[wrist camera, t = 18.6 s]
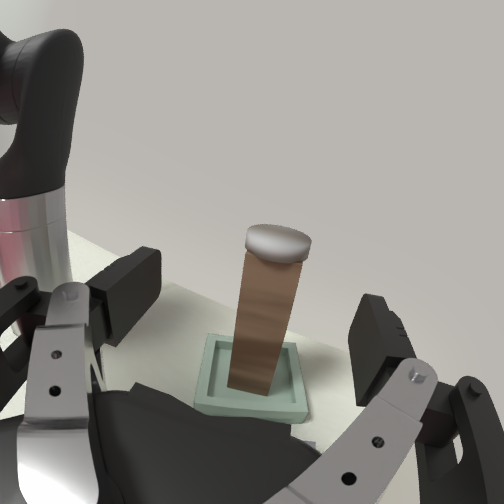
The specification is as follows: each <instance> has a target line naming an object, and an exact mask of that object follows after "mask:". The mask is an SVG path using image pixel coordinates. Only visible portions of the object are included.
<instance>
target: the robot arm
mask: <svg viewBox="0 0 504 504" xmlns="http://www.w3.org/2000/svg"><path fill="white" fill-rule="evenodd" d="M83 65H84V54H83V47H82V43H81V41H80V38H79V37H78V36H77V34H76V33H74V32H73V31H71V30H68V29H57V30H53V31H49V32H46V33H42V34H39V35H36V36H33V37H30V38H27V39H24V40H21V41H19V42H15V41H12V40H10V39H9V38H7V37H6V36H5V35H4V34H3V33H2V32H1V31H0V124H3V125H12V124H17V128H16V133H15V138H14V140H13V143H12V144H11V146H10V148H9V149H8V151H7V152H6V153H5V154H4V155H3V156H2V157H1V158H0V337H1V334H2V333H3V332H4V331H5V330H6V329H7V328H8V327H9V326H10V325H11V328H12V331H13V333H14V334H16V335H18V338H17V339H16V340H15V341H14V342H13V343H12V344H11V345H10V346H9V347H8V348H7V349H6V350H5V351H4V352H3V351H2V349H1V347H0V412H1V411H2V410H3V408H4V407H5V406H6V404H7V403H8V402H9V401H10V399H11V398H12V397H13V396H14V394H15V393H16V392H17V391H18V389H19V388H20V387H21V386H22V385H23V383H24V382H25V381H26V380H27V385H26V397H25V413H24V414H22V415H18V416H15V417H10V418H6V419H2V420H0V504H374V503H375V502H376V500H377V499H378V498H379V496H380V495H381V494H382V492H383V491H384V489H385V488H386V487H387V485H388V484H389V482H390V481H391V479H392V478H393V476H394V475H395V473H396V472H397V470H398V468H399V467H400V465H401V464H402V462H403V460H404V459H405V457H406V455H407V454H408V452H409V450H410V449H411V447H412V445H413V443H414V442H415V448H416V457H417V466H418V476H419V491H420V504H504V431H503V428H502V426H501V423H500V420H499V418H498V415H497V412H496V410H495V407H494V404H493V402H492V400H491V397H490V395H489V393H488V391H487V389H486V387H485V385H484V384H483V383H482V382H480V381H479V380H478V379H476V378H474V377H471V376H464V377H462V378H461V379H460V380H459V381H458V383H457V384H456V385H455V386H451V385H448V384H445V383H442V382H439V381H438V378H437V374H436V372H435V371H434V369H433V368H432V367H431V366H430V365H429V364H428V363H426V362H424V361H422V360H420V359H417V357H416V355H415V352H414V350H413V347H412V345H411V342H410V340H409V338H408V337H407V333H406V331H405V330H404V326H403V324H402V321H401V319H400V318H399V317H398V316H397V315H396V314H395V313H394V312H393V311H389V309H388V306H387V304H386V302H385V299H384V297H382V296H376V295H371V294H364V295H363V297H362V298H361V301H360V304H359V306H358V309H357V312H356V314H355V317H354V319H353V322H352V324H351V327H350V330H349V335H348V344H349V351H350V358H351V365H352V372H353V380H354V388H355V397H356V406H362V407H366V408H365V409H364V410H363V411H362V412H361V414H360V415H359V416H358V417H357V418H356V419H355V421H354V422H353V423H352V424H351V425H350V426H349V427H348V428H347V430H346V431H345V432H344V433H343V434H342V435H341V436H340V437H339V438H338V439H337V440H336V441H335V442H334V443H333V444H332V445H331V446H330V447H329V448H328V449H327V450H326V451H325V452H324V453H323V454H320V453H319V452H318V451H317V450H316V449H314V448H313V447H312V446H310V445H308V444H307V443H305V442H303V441H301V440H299V439H297V438H295V437H293V436H290V433H291V424H285V423H279V422H274V421H268V420H263V419H258V418H253V417H225V416H210V415H205V414H203V413H201V412H199V411H197V410H196V409H194V408H192V407H190V406H188V405H187V404H185V403H183V402H181V401H180V400H178V399H176V398H175V397H173V396H171V395H169V394H166V393H163V392H160V391H158V390H155V389H152V388H150V387H147V386H144V385H142V384H139V383H137V382H135V384H134V386H133V387H132V389H131V390H130V392H129V391H119V390H111V391H107V389H106V382H105V374H104V366H103V356H102V350H101V346H102V345H103V343H106V344H109V345H111V346H114V347H116V346H117V345H118V344H119V343H120V342H121V340H122V339H123V338H124V337H125V336H126V334H127V333H128V332H129V331H130V330H131V329H132V327H133V326H134V325H135V324H136V323H137V322H138V320H139V319H140V318H141V317H142V316H143V315H144V313H145V312H146V311H147V310H148V309H149V308H150V307H151V305H152V304H153V303H154V302H155V301H156V300H157V298H158V297H159V294H160V291H161V252H160V251H159V250H157V249H153V248H148V247H143V246H142V247H140V248H139V249H137V250H136V251H135V252H133V253H132V254H130V255H127V256H124V257H122V258H119V259H117V260H116V261H114V262H113V263H111V264H110V266H107V267H106V268H105V269H104V270H102V271H100V272H99V273H98V274H96V275H95V276H94V277H92V278H91V279H90V280H88V281H87V282H86V283H84V284H83V283H80V282H73V279H72V272H71V265H70V257H69V248H68V238H67V225H66V209H65V170H66V166H67V162H68V158H69V154H70V148H71V140H72V131H73V124H74V117H75V111H76V106H77V101H78V96H79V91H80V86H81V81H82V74H83ZM458 434H459V435H460V439H461V443H462V447H463V456H462V459H461V461H460V462H459V464H458V463H457V458H456V453H455V448H454V443H453V439H455V437H457V435H458Z"/></svg>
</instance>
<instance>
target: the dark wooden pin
mask: <svg viewBox="0 0 504 504" xmlns="http://www.w3.org/2000/svg"><path fill="white" fill-rule="evenodd" d="M310 245H311V239H310V237H309V236H307V235H306V234H304V233H302V232H300V231H297V230H295V229H291V228H288V227H283V226H277V225H267V224H260V225H254V226H251V227H249V228H248V230H247V236H246V243H245V248H246V249H247V252H246V254H245V260H244V267H243V275H242V281H241V289H240V296H239V302H238V309H237V317H236V324H235V331H234V338H233V345H232V353H231V360H230V367H229V375H228V382H227V387H228V388H231V389H235V390H240V391H244V392H248V393H252V394H257V395H262V396H266V397H268V393H269V390H270V387H271V383H272V380H273V376H274V373H275V369H276V366H277V362H278V359H279V355H280V352H281V348H282V344H283V341H284V337H285V333H286V330H287V326H288V322H289V318H290V314H291V310H292V306H293V302H294V298H295V294H296V290H297V286H298V282H299V278H300V273H301V269H302V263H303V261H305V260H306V259H307V258H308V255H309V250H310Z"/></svg>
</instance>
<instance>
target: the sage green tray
mask: <svg viewBox="0 0 504 504" xmlns="http://www.w3.org/2000/svg"><path fill="white" fill-rule="evenodd" d="M233 338H234V337H232V336H224V335H216V334H209V333H208V335H207V339H206V344H205V349H204V354H203V359H202V364H201V368H200V373H199V378H198V383H197V388H196V393H195V399H194V409H196V410H197V411H199V412H201V413H203V414H205V415H210V416H225V417H253V418H258V419H263V420H268V421H274V422H279V423H303V421H304V419H305V417H306V415H307V413H308V407H307V402H306V396H305V390H304V385H303V379H302V374H301V368H300V363H299V358H298V352H297V347H296V343H291V342H283V344H282V348H281V352H280V355H279V359H278V362H277V366H276V369H275V373H274V376H273V380H272V383H271V387H270V390H269V393H268V397H266V396H262V395H257V394H252V393H248V392H244V391H240V390H235V389H231V388H228V387H227V382H228V375H229V367H230V360H231V353H232V345H233Z"/></svg>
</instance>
